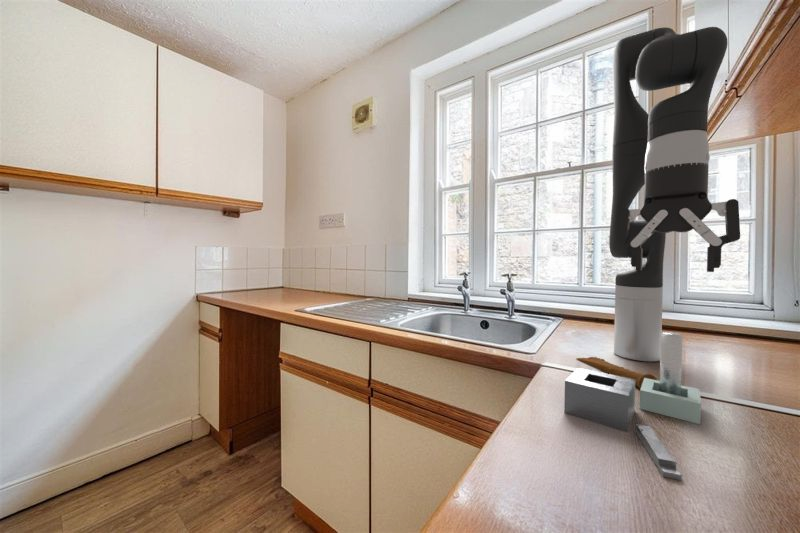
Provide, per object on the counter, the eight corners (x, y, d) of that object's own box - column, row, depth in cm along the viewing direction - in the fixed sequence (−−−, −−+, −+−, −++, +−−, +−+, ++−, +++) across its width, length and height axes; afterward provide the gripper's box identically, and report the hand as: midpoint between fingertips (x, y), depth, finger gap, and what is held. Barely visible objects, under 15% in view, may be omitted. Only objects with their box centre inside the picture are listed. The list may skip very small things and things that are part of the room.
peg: (659, 402, 52) (661, 331, 52) (680, 408, 50) (682, 333, 50) (658, 408, 50) (660, 333, 50) (680, 413, 48) (682, 336, 48)
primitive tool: (574, 360, 75) (575, 345, 75) (596, 360, 76) (597, 345, 75) (641, 395, 56) (642, 376, 56) (670, 395, 56) (671, 376, 56)
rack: (643, 394, 55) (644, 377, 55) (698, 407, 51) (699, 389, 50) (639, 408, 50) (640, 390, 50) (700, 424, 45) (701, 403, 45)
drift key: (635, 432, 43) (636, 424, 43) (650, 435, 43) (650, 426, 43) (663, 476, 34) (663, 465, 34) (681, 480, 34) (681, 469, 34)
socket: (577, 395, 55) (578, 367, 55) (634, 411, 49) (635, 379, 49) (564, 412, 49) (564, 380, 49) (627, 431, 43) (628, 395, 43)
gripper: (738, 164, 47) (734, 271, 48) (623, 179, 57) (621, 269, 57) (745, 151, 42) (741, 273, 42) (616, 171, 51) (614, 270, 52)
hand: (672, 271), depth 50 cm, fingers open, 8 cm apart
